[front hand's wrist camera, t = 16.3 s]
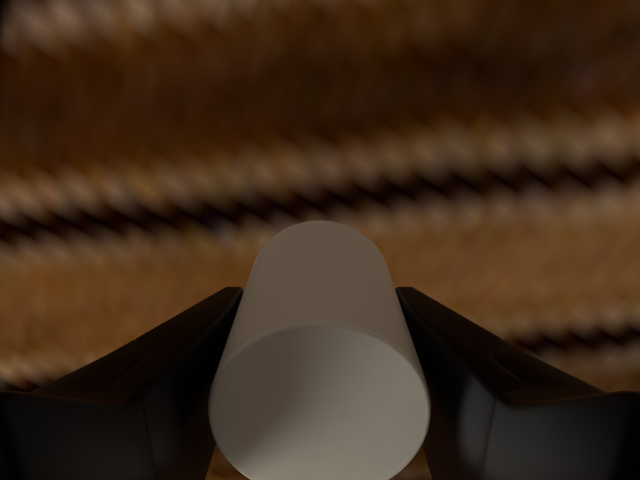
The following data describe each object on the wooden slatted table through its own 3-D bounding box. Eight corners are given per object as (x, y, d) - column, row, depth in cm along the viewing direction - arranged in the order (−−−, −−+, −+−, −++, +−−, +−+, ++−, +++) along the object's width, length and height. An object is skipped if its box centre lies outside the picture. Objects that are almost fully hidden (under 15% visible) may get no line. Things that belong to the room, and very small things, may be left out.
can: (282, 196, 11) (255, 286, 6) (414, 253, 12) (474, 373, 7) (230, 315, 12) (176, 462, 8) (351, 361, 13) (369, 524, 8)
